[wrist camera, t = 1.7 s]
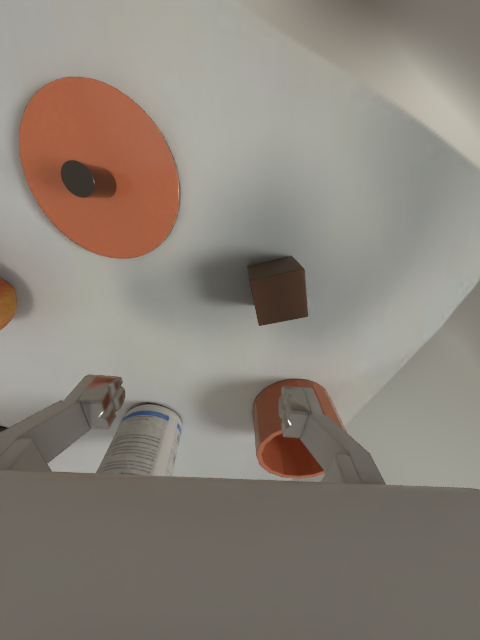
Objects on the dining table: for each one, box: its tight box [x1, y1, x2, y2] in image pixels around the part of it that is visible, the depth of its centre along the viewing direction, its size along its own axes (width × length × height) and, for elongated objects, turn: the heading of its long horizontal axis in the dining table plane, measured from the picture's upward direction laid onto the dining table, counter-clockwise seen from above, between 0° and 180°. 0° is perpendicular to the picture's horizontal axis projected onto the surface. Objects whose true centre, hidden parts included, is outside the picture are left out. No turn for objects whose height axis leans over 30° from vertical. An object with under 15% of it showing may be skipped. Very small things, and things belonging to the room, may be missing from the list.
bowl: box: [253, 379, 347, 478], centre depth 32 cm, size 12×12×8 cm
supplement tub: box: [96, 404, 182, 476], centre depth 30 cm, size 10×10×15 cm
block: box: [248, 256, 308, 326], centre depth 23 cm, size 5×5×5 cm
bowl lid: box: [19, 77, 180, 259], centre depth 18 cm, size 13×13×5 cm
